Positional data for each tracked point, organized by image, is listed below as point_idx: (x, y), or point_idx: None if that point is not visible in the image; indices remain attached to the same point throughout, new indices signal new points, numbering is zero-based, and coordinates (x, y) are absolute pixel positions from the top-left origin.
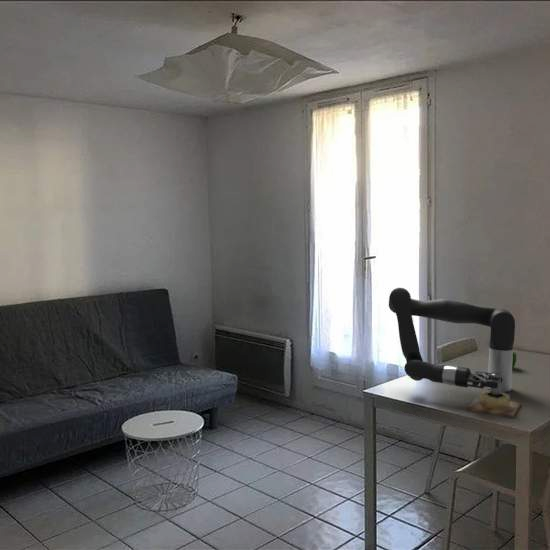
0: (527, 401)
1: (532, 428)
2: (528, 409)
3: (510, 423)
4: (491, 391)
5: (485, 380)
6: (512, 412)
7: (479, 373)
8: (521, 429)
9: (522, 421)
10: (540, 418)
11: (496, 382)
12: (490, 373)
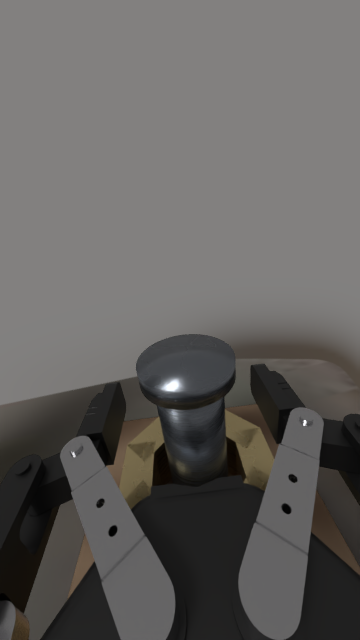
0: (61, 427)
1: (299, 360)
2: (150, 403)
3: (326, 400)
4: (225, 460)
5: (307, 412)
6: (242, 411)
7: (103, 561)
8: (336, 371)
9: None
10: None
11: (261, 364)
12: (193, 381)
